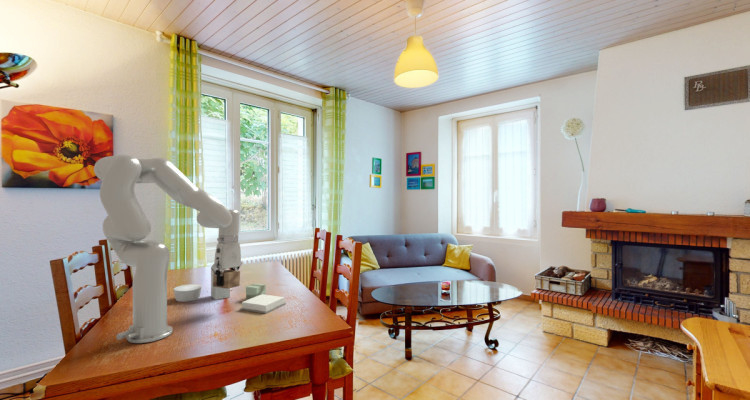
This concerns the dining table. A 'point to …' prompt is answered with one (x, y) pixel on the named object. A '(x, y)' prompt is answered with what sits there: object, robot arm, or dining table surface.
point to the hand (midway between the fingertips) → (226, 283)
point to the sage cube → (255, 290)
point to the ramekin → (187, 292)
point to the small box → (219, 290)
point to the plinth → (263, 303)
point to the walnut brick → (228, 279)
